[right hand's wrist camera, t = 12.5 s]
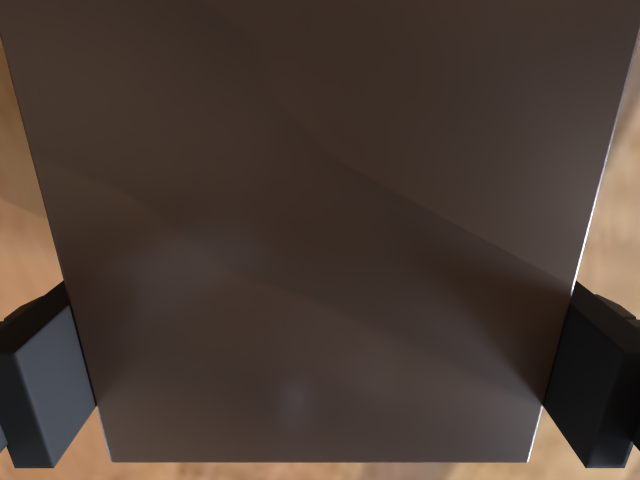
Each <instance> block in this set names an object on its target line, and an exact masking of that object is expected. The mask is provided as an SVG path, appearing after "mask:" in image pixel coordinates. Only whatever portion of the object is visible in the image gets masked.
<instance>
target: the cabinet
mask: <svg viewBox="0 0 640 480" xmlns="http://www.w3.org/2000/svg"><path fill="white" fill-rule="evenodd" d="M639 35H640V0H0V36H1V40H2V44H3V48H4V52H5V55H6V59H7V63H8V67H9V71H10V75H11V79H12V82H13V86H14V90H15V94H16V98H17V102H18V106H19V109H20V113H21V117H22V121H23V125H24V129H25V133H26V136H27V140H28V144H29V148H30V152H31V156H32V160H33V163H34V167H35V171H36V175H37V179H38V183H39V187H40V190H41V194H42V198H43V202H44V206H45V210H46V213H47V217H48V221H49V225H50V229H51V233H52V237H53V240H54V244H55V248H56V252H57V256H58V260H59V264H60V267H61V271H62V275H63V279H64V283H65V287H66V291H67V294H68V298H69V302H70V306H71V310H72V314H73V318H74V321H75V325H76V329H77V333H78V337H79V341H80V345H81V348H82V352H83V356H84V360H85V364H86V368H87V372H88V375H89V379H90V383H91V387H92V391H93V395H94V399H95V402H96V406H97V410H98V414H99V418H100V422H101V425H102V429H103V433H104V437H105V441H106V445H107V449H108V452H109V456H110V460H111V462H356V463H526V462H528V461H529V458H530V454H531V450H532V446H533V443H534V439H535V435H536V431H537V427H538V423H539V419H540V416H541V412H542V408H543V404H544V400H545V396H546V393H547V389H548V385H549V381H550V377H551V373H552V370H553V366H554V362H555V358H556V354H557V350H558V346H559V343H560V339H561V335H562V331H563V327H564V323H565V320H566V316H567V312H568V308H569V304H570V300H571V296H572V293H573V289H574V285H575V281H576V277H577V273H578V270H579V266H580V262H581V258H582V254H583V250H584V247H585V243H586V239H587V235H588V231H589V227H590V223H591V220H592V216H593V212H594V208H595V204H596V200H597V197H598V193H599V189H600V185H601V181H602V177H603V173H604V170H605V166H606V162H607V158H608V154H609V150H610V147H611V143H612V139H613V135H614V131H615V127H616V123H617V120H618V116H619V112H620V108H621V104H622V100H623V97H624V93H625V89H626V85H627V81H628V77H629V74H630V70H631V66H632V62H633V58H634V54H635V50H636V47H637V43H638V39H639Z"/></svg>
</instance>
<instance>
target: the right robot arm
mask: <svg viewBox="0 0 640 480" xmlns="http://www.w3.org/2000/svg"><path fill="white" fill-rule="evenodd" d="M543 406H544V408H545V409H546V411H547V412H548V414H549V415H550V417H551V418H552V420H553V421H554V422H555V424H556V425H557V427H558V428H559V430H560V431H561V433H562V434H563V436H564V437H565V438H566V440H567V441H568V443H569V444H570V446H571V447H572V449H573V450H574V452H575V453H576V454H577V456H578V457H579V459H580V460H581V462H582V463H583V465H584V466H585V468H625V465H626V463H627V460H628V458H629V455H630V452H631V450H632V447H633V445H635V446H636V447H637V448H638V450H639V451H640V320H636V317H635V316H634V315H632V314H631V313H630V312H628V311H627V310H626V309H624V308H623V307H622V306H620V305H619V304H617V303H615V302H612V301H610V300H608V299H606V298H604V297H602V296H600V295H598V294H593V293H591V292H590V291H589V290H588V289H586V288H585V287H584V286H582V285H581V284H580V283H579V282H577V281H575V285H574V289H573V293H572V296H571V300H570V304H569V308H568V312H567V316H566V320H565V323H564V327H563V331H562V335H561V339H560V343H559V346H558V350H557V354H556V358H555V362H554V366H553V370H552V373H551V377H550V381H549V385H548V389H547V393H546V396H545V400H544V404H543ZM95 407H96V402H95V399H94V395H93V391H92V387H91V383H90V379H89V375H88V372H87V368H86V364H85V360H84V356H83V352H82V348H81V345H80V341H79V337H78V333H77V329H76V325H75V321H74V318H73V314H72V310H71V306H70V302H69V298H68V294H67V291H66V287H65V283H64V280H63V281H62V282H61V283H60V284H58V285H57V286H56V287H54V288H53V289H52V290H51V291H49V292H48V293H47V294H45V295H44V296H41V297H39V298H37V299H35V300H33V301H31V302H29V303H27V304H24V305H22V306H20V307H19V308H18V309H16V310H15V311H14V312H12V313H11V314H10V315H8V316H7V317H6V318H4V321H0V453H1V451H2V450H3V449H4V448H5V447H6V446H7V449H8V451H9V454H10V456H11V459H12V462H13V464H14V467H15V468H54V467H55V465H56V464H57V463H58V461H59V460H60V458H61V457H62V455H63V454H64V452H65V451H66V449H67V448H68V447H69V445H70V444H71V442H72V441H73V439H74V438H75V436H76V435H77V433H78V432H79V431H80V429H81V428H82V426H83V425H84V423H85V422H86V420H87V419H88V417H89V416H90V415H91V413H92V412H93V410H94V409H95Z"/></svg>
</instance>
